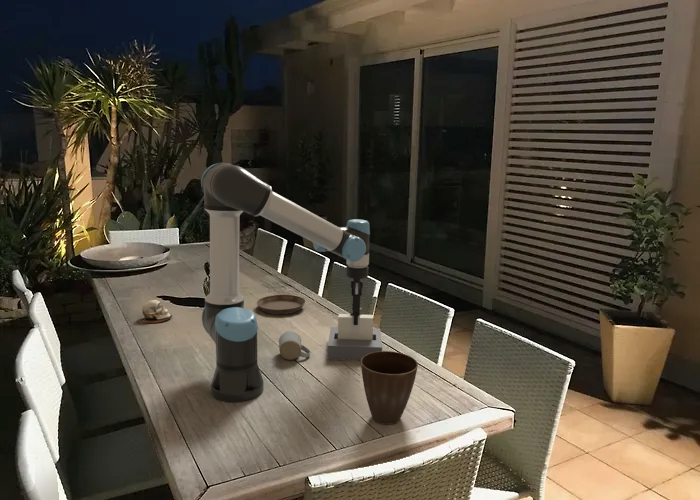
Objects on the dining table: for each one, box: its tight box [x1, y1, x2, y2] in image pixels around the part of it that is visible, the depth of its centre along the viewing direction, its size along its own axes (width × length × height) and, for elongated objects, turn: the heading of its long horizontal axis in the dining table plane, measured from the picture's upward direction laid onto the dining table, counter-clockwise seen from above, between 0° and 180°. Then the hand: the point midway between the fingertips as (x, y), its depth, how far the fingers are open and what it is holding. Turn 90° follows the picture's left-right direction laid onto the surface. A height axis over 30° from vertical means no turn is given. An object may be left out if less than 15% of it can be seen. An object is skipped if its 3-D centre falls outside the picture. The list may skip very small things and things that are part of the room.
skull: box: [141, 299, 173, 324], centre depth 219 cm, size 12×10×10 cm
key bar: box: [337, 313, 374, 340], centre depth 191 cm, size 12×4×10 cm, turn 89°
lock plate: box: [327, 326, 383, 362], centre depth 192 cm, size 18×18×5 cm
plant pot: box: [360, 350, 419, 425], centre depth 146 cm, size 15×15×16 cm
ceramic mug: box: [278, 330, 312, 361], centre depth 186 cm, size 11×8×8 cm
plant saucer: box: [256, 294, 306, 315], centre depth 236 cm, size 21×21×3 cm
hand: (355, 330), depth 191 cm, fingers closed on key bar, 3 cm apart
